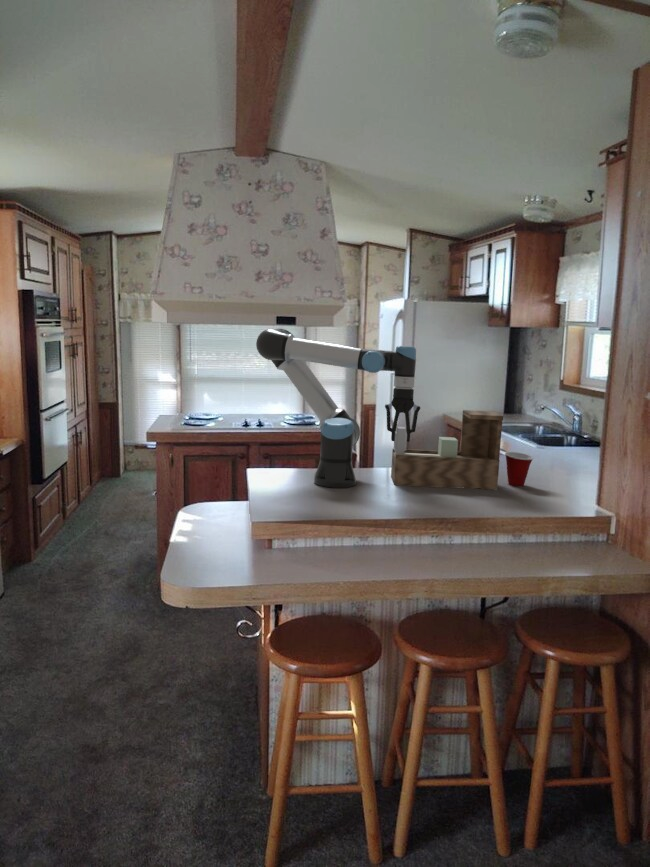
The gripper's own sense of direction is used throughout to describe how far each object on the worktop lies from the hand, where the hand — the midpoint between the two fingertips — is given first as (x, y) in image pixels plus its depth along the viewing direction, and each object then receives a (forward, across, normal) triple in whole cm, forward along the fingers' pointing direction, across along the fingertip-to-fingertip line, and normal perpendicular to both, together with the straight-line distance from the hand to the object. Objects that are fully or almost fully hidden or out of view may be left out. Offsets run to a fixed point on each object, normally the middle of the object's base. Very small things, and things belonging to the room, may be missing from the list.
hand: (399, 449), depth 249 cm
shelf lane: (+12, +17, 0) cm, 21 cm away
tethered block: (+2, +10, 0) cm, 10 cm away
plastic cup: (+12, +46, +3) cm, 48 cm away
